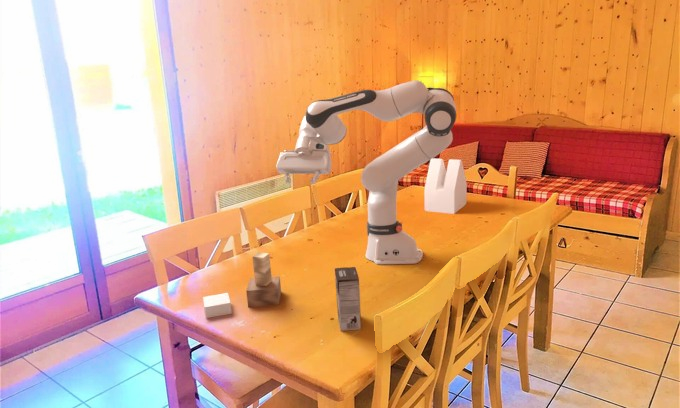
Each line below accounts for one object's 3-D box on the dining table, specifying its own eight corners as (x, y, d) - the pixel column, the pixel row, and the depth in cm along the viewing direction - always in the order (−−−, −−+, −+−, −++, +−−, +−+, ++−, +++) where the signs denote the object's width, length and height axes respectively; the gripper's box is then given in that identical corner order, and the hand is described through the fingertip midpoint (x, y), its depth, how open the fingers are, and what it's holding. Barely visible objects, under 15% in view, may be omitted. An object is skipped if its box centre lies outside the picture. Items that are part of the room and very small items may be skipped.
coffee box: (337, 316, 160) (334, 267, 155) (358, 314, 160) (355, 265, 156) (339, 331, 151) (336, 280, 147) (361, 329, 151) (359, 278, 147)
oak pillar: (271, 281, 174) (269, 253, 171) (266, 286, 170) (263, 257, 168) (261, 280, 175) (258, 252, 173) (255, 285, 172) (252, 256, 169)
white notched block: (454, 214, 255) (454, 163, 249) (424, 211, 263) (424, 162, 256) (466, 204, 271) (466, 156, 264) (438, 201, 279) (438, 155, 272)
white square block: (229, 303, 173) (227, 292, 172) (231, 314, 166) (230, 302, 165) (204, 308, 171) (202, 297, 170) (206, 318, 163) (204, 307, 162)
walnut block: (281, 292, 179) (279, 276, 178) (278, 305, 170) (277, 288, 168) (252, 294, 179) (250, 278, 177) (248, 307, 169) (246, 290, 168)
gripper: (277, 145, 191) (269, 177, 185) (331, 145, 186) (324, 178, 179) (283, 155, 197) (275, 187, 190) (335, 155, 191) (329, 187, 185)
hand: (300, 182), depth 185 cm, fingers open, 8 cm apart
